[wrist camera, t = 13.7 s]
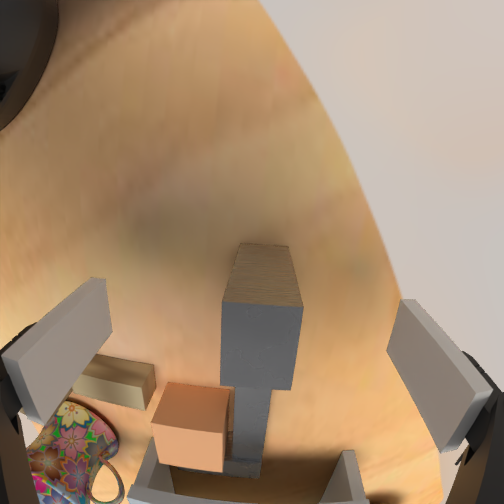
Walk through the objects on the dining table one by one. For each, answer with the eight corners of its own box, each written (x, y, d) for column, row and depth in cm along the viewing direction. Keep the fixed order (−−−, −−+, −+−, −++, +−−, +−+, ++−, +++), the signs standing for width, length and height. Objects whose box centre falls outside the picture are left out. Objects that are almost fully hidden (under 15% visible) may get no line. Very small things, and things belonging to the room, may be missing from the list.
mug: (68, 445, 28) (32, 507, 18) (37, 386, 25) (-17, 449, 15) (158, 463, 27) (133, 543, 17) (133, 402, 25) (88, 492, 14)
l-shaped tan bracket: (59, 367, 24) (20, 412, 18) (51, 340, 23) (7, 383, 17) (156, 390, 24) (129, 450, 17) (152, 361, 23) (121, 421, 16)
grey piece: (174, 238, 21) (115, 290, 12) (288, 246, 20) (303, 307, 12) (185, 442, 26) (164, 518, 17) (263, 450, 25) (261, 530, 17)
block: (168, 381, 24) (150, 422, 19) (229, 389, 24) (222, 433, 19) (173, 422, 25) (159, 462, 20) (228, 429, 25) (222, 472, 20)
